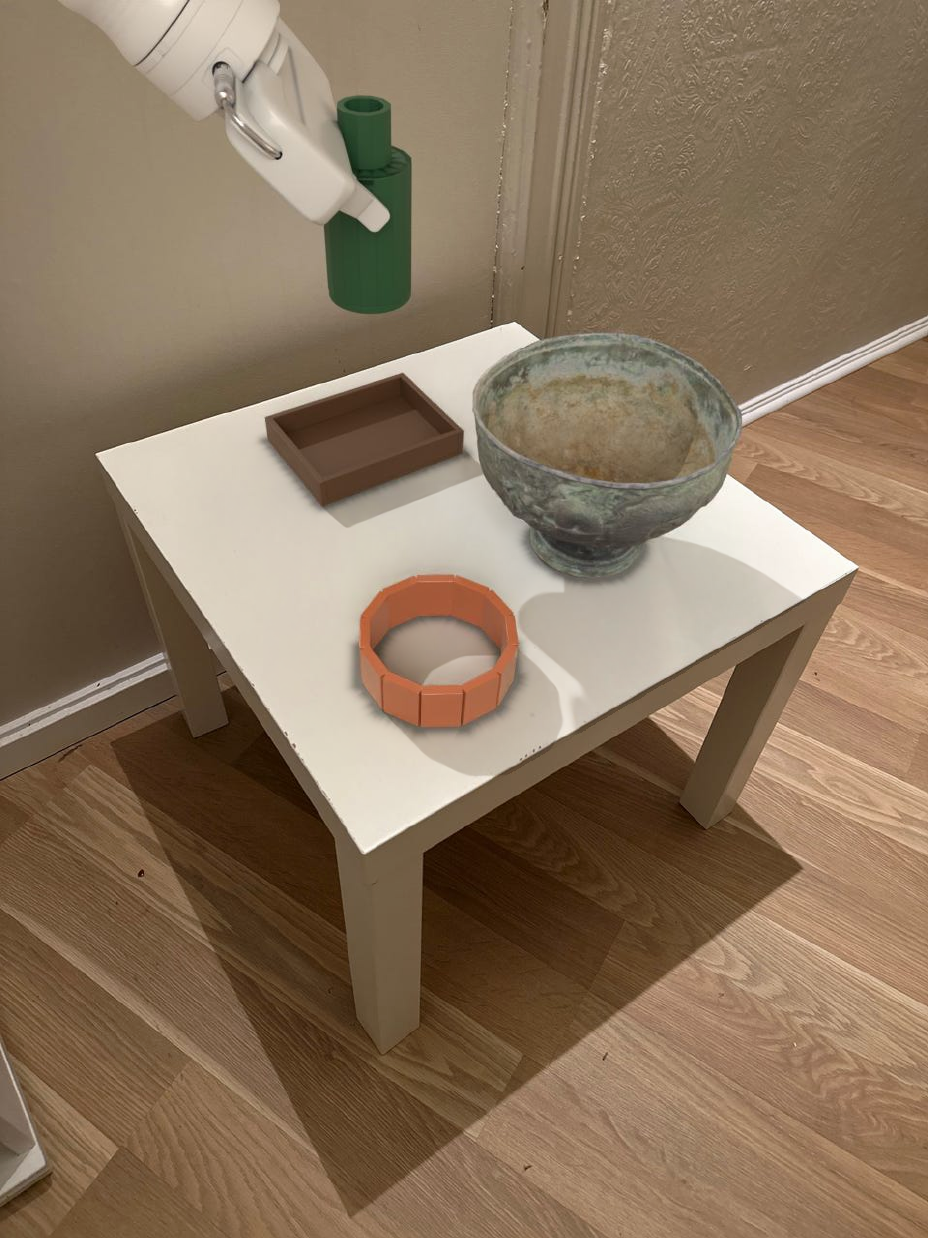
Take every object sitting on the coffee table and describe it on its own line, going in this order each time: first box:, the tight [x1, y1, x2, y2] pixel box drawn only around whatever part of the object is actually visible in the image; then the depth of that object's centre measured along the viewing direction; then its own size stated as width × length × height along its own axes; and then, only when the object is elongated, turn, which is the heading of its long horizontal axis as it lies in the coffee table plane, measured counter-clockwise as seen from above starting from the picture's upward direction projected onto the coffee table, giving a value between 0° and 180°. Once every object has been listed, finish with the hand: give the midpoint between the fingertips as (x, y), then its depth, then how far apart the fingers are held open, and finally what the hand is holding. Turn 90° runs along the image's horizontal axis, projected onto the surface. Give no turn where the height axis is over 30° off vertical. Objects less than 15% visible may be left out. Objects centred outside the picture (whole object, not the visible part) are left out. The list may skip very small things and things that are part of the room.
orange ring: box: [358, 574, 520, 728], centre depth 67 cm, size 12×12×4 cm
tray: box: [264, 372, 465, 507], centre depth 85 cm, size 15×11×3 cm
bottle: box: [323, 94, 413, 315], centre depth 65 cm, size 6×6×14 cm
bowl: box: [471, 331, 743, 579], centre depth 73 cm, size 20×19×15 cm
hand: (375, 195), depth 64 cm, fingers closed on bottle, 6 cm apart
